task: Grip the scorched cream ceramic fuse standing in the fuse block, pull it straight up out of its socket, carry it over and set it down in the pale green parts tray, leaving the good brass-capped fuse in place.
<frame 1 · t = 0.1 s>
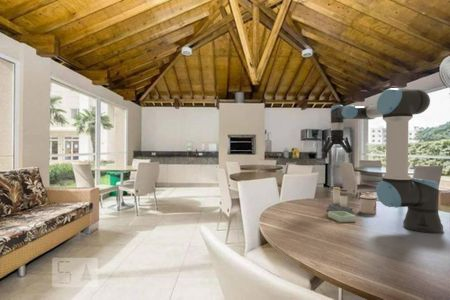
hand: (336, 163, 173), 28 cm above the table, fingers open, 13 cm apart
teacup with lid: (367, 212, 160), on the table
parts tray: (341, 219, 143), on the table
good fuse: (336, 207, 162), point 2 cm above the table, touching fuse block
blown fuse: (343, 210, 155), point 2 cm above the table, touching fuse block
fuse block: (340, 212, 158), on the table
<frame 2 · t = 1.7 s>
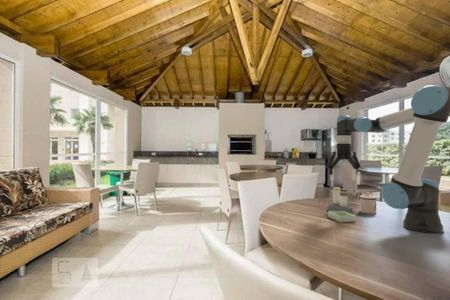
hand: (343, 180, 155), 19 cm above the table, fingers open, 13 cm apart
nothing on the table moved.
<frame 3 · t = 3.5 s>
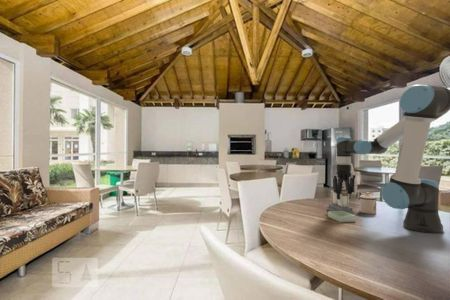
hand: (343, 204, 155), 5 cm above the table, fingers closed on blown fuse, 4 cm apart
blown fuse: (343, 210, 155), point 2 cm above the table, touching fuse block, gripper
everything else where it was.
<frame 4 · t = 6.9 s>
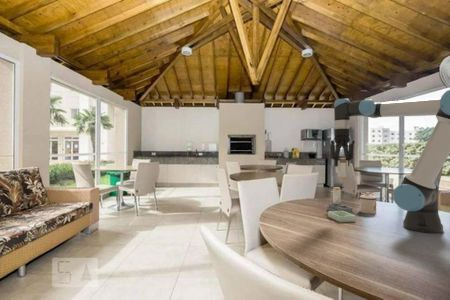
hand: (341, 172, 144), 25 cm above the table, fingers closed on blown fuse, 4 cm apart
blown fuse: (341, 178, 144), point 21 cm above the table, touching gripper
everything else where it was.
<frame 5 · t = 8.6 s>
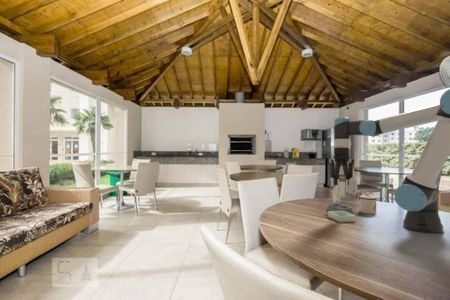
hand: (341, 191, 143), 15 cm above the table, fingers closed on blown fuse, 4 cm apart
blown fuse: (341, 197, 143), point 12 cm above the table, touching gripper
everything else where it was.
when the fingers open (6 cm above the table, at t = 10.2 s): blown fuse drops 2 cm, resting on parts tray.
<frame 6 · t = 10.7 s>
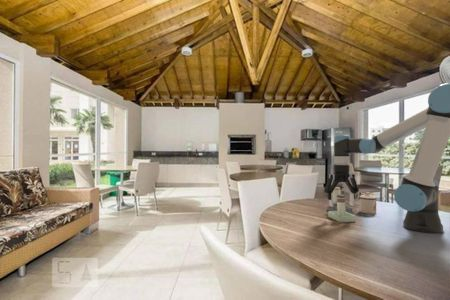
hand: (341, 205, 143), 7 cm above the table, fingers open, 11 cm apart
blown fuse: (341, 218, 143), point 1 cm above the table, touching parts tray
everything else where it was.
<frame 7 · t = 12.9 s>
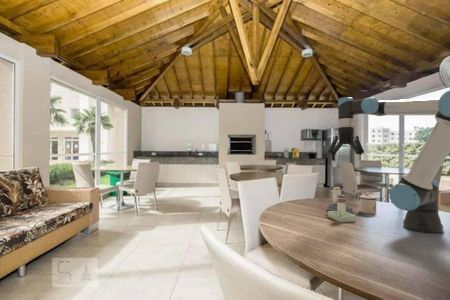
hand: (346, 166, 145), 28 cm above the table, fingers open, 13 cm apart
nothing on the table moved.
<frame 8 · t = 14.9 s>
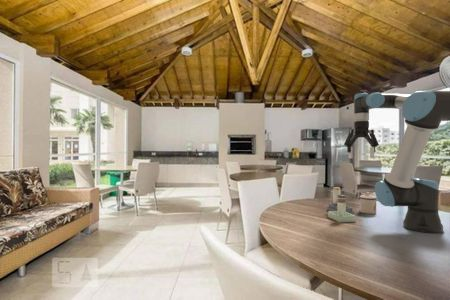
hand: (361, 158, 155), 32 cm above the table, fingers open, 13 cm apart
nothing on the table moved.
at the end: blown fuse inside the target area on the parts tray (0.1 cm from its centre), point 0.5 cm above the parts tray's base; the gripper is holding nothing; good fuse moved 0.0 cm from its start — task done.
